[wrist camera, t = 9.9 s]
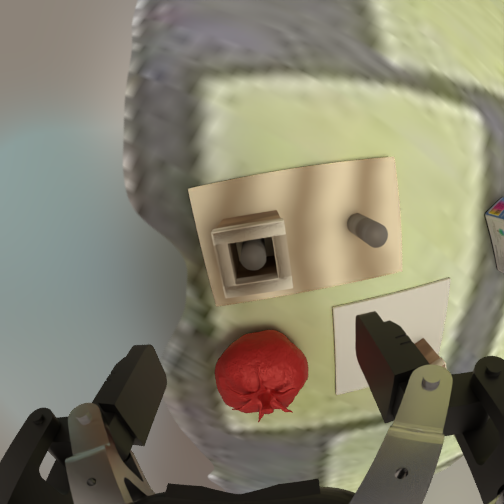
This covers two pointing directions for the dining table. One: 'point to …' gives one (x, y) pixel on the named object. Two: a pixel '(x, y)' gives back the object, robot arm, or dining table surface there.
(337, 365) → the mat
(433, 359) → the sleeve
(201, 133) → the dining table surface
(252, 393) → the pomegranate
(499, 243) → the ink cartridge box
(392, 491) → the robot arm
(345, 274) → the pin board
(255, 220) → the sleeve
